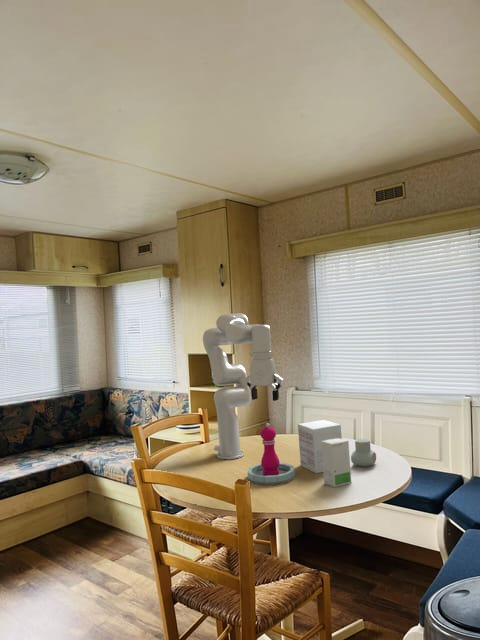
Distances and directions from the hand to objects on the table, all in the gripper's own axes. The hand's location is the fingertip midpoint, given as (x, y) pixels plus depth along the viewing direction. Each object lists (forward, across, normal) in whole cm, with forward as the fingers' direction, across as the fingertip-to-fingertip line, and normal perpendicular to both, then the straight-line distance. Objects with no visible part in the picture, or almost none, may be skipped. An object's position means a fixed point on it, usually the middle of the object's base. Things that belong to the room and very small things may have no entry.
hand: (265, 399), depth 188 cm
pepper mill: (+29, +1, 0) cm, 29 cm away
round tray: (+30, +1, 0) cm, 30 cm away
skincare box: (+30, +27, +4) cm, 41 cm away
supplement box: (+31, +13, +20) cm, 39 cm away
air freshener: (+31, +28, +28) cm, 50 cm away
